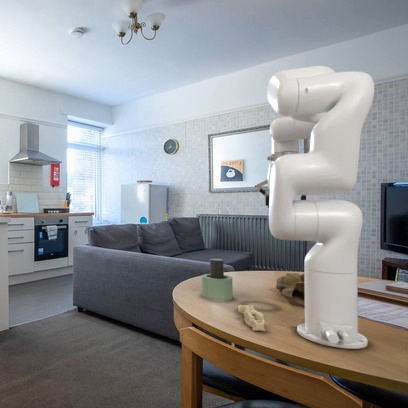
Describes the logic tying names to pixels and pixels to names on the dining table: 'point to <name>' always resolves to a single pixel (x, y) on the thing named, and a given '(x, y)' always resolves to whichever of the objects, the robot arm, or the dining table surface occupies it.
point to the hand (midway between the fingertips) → (285, 207)
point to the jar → (217, 287)
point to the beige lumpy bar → (252, 317)
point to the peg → (217, 268)
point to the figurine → (292, 287)
